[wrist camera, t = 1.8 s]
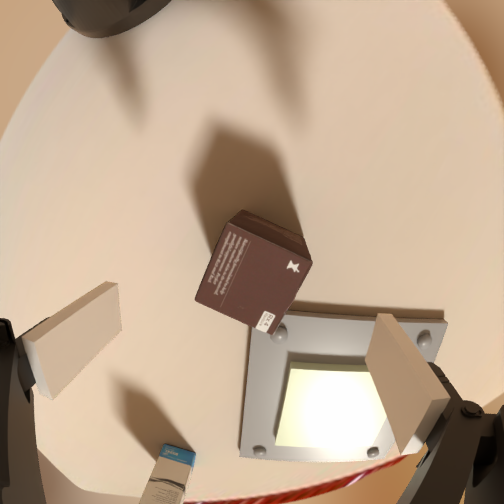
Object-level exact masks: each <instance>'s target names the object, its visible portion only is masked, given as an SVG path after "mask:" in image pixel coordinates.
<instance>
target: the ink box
mask: <svg viewBox="0 0 504 504" xmlns="http://www.w3.org/2000/svg"><path fill="white" fill-rule="evenodd" d="M195 456H196V453H194V452H190V451H187V450H184V449H180V448H177V447H174V446H170V445H167V444H164V445H163V447H162V450H161V452H160V455H159V457H158V459H157V462H156V464H155V467H154V469H153V471H152V473H151V476H150V478H149V481H148V483H147V485H146V488H145V490H144V492H143V495H142V497H141V499H140V502H139V504H183V502H184V499H185V496H186V492H187V489H188V486H189V483H190V480H191V476H192V471H193V466H194V461H195Z"/></svg>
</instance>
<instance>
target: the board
mask: <svg viewBox="0 0 504 504" xmlns="http://www.w3.org/2000/svg"><path fill="white" fill-rule="evenodd" d="M376 318H377V317H370V316H354V315H339V314H326V313H313V312H302V311H291V310H287V312H286V314H285V316H284V317H283V319H282V321H281V323H280V325H279V326H278V328H277V330H276V332H275V333H274V335H270V334H268V333H265V332H263V331H260V330H258V329H256V328H253V327H252V334H251V344H250V355H249V365H248V376H247V386H246V396H245V407H244V417H243V427H242V437H241V447H240V456H239V457H245V458H253V459H264V460H276V461H293V462H347V461H364V460H376V459H384V458H385V457H386V455H387V453H388V452H389V450H390V448H391V447H392V445H393V443H394V442H395V438H394V435H393V432H392V429H391V426H390V424H389V421H388V418H387V416H386V413H385V410H384V408H383V405H382V402H381V400H380V397H379V395H378V392H377V390H376V387H375V384H374V382H373V379H372V377H371V374H370V372H369V370H368V367H367V365H366V362H365V358H366V354H367V351H368V347H369V344H370V340H371V337H372V333H373V329H374V326H375V322H376ZM395 319H396V321H397V322H398V323H399V325H400V326H401V327H402V329H403V330H404V331H405V333H406V334H407V335H408V337H409V338H410V339H411V341H412V342H413V344H414V345H415V346H416V348H417V349H418V351H419V352H420V353H421V355H422V356H423V358H424V359H425V360H426V362H432V363H434V361H435V358H436V356H437V353H438V351H439V348H440V345H441V343H442V340H443V337H444V334H445V331H446V329H447V326H448V323H447V322H446V321H445V320H444V319H415V318H395Z"/></svg>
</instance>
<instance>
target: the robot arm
mask: <svg viewBox="0 0 504 504" xmlns="http://www.w3.org/2000/svg"><path fill="white" fill-rule="evenodd" d="M52 1H53V3H54V4H55V6H56V7H57V8H58V10H59V11H60V12H61V13H62V17H63V19H64V21H65V22H66V24H67V25H68V26H69V27H70V28H72V29H73V30H75V31H77V32H78V33H80V34H82V35H84V36H87V37H91V38H103V37H109V36H113V35H116V34H119V33H122V32H125V31H127V30H129V29H131V28H133V27H135V26H137V25H139V24H141V23H142V22H144V21H146V20H147V19H149V18H150V17H152V16H153V15H155V14H156V13H157V12H159V11H160V10H161V9H162V8H163V7H165V6H166V5H167V4H168V3H169V2H170V1H171V0H52ZM121 330H122V326H121V316H120V306H119V294H118V283H112V282H107V281H106V282H104V283H103V284H101V285H99V286H98V287H96V288H95V289H93V290H91V291H90V292H88V293H87V294H85V295H84V296H82V297H80V298H79V299H77V300H76V301H74V302H73V303H71V304H70V305H68V306H66V307H65V308H63V309H62V310H60V311H59V312H57V313H56V314H54V315H53V316H51V317H48V318H46V319H44V320H43V321H41V322H40V323H39V324H37V325H35V326H34V327H33V328H31V329H29V330H28V331H26V332H25V333H23V334H22V335H20V336H19V337H18V338H16V339H15V337H14V333H13V329H12V325H11V322H10V321H9V320H8V319H5V318H0V504H46V500H45V495H44V490H43V485H42V480H41V474H40V469H39V461H38V454H37V445H36V435H35V421H34V394H33V391H32V388H31V387H32V386H33V385H34V384H35V383H36V385H37V387H38V390H39V393H40V394H41V395H43V396H45V397H47V398H49V399H51V400H54V399H55V398H56V397H57V396H58V395H59V393H60V392H61V391H62V390H63V389H64V388H65V387H66V386H67V385H68V384H69V383H70V382H71V381H72V380H73V379H74V378H75V377H76V376H77V375H78V374H79V373H80V372H81V371H82V370H83V369H84V368H85V367H86V366H87V365H88V364H89V362H90V361H91V360H92V359H93V358H94V357H95V356H96V355H97V354H98V353H99V352H100V351H101V350H102V349H103V348H104V347H105V346H106V345H107V344H108V343H109V342H110V341H111V340H112V339H113V338H114V337H115V336H116V335H117V334H118V333H119V332H120V331H121ZM365 362H366V365H367V367H368V370H369V372H370V374H371V377H372V379H373V382H374V384H375V387H376V390H377V392H378V395H379V397H380V400H381V402H382V405H383V408H384V410H385V413H386V416H387V418H388V421H389V424H390V426H391V429H392V432H393V435H394V438H395V440H396V443H397V446H398V449H399V452H400V455H406V454H413V453H418V452H419V451H420V449H421V448H422V446H423V445H424V443H425V442H426V444H427V447H428V451H427V452H426V454H425V455H424V456H423V458H422V459H421V461H420V462H419V464H418V465H417V466H416V467H417V470H416V472H415V474H414V476H413V477H412V479H411V481H410V482H409V484H408V486H407V487H406V489H405V491H404V492H403V494H402V496H401V497H400V499H399V500H398V502H397V503H396V504H459V503H460V500H461V498H462V495H463V492H464V490H465V500H464V504H504V405H502V407H501V408H500V410H499V412H498V413H497V414H485V413H484V411H483V409H482V408H481V407H480V406H479V405H478V404H476V403H474V402H472V401H467V400H465V401H463V400H462V398H461V397H460V395H459V394H458V393H457V391H456V390H455V388H454V387H453V385H452V384H451V383H449V380H448V378H447V377H445V374H444V373H443V371H442V370H441V369H440V368H439V367H438V366H437V365H435V364H434V363H432V362H426V360H425V359H424V358H423V356H422V355H421V353H420V352H419V351H418V349H417V348H416V346H415V345H414V344H413V342H412V341H411V339H410V338H409V337H408V335H407V334H406V333H405V331H404V330H403V329H402V327H401V326H400V325H399V323H398V322H397V321H396V319H395V318H394V317H393V315H392V314H384V313H378V314H377V318H376V322H375V326H374V329H373V333H372V337H371V340H370V344H369V347H368V351H367V354H366V358H365ZM465 487H466V489H465Z"/></svg>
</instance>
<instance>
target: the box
mask: <svg viewBox="0 0 504 504" xmlns="http://www.w3.org/2000/svg"><path fill="white" fill-rule="evenodd" d="M312 264H313V261H312V260H311V256H310V254H309V251H308V248H307V245H306V242H305V239H304V238H303V237H301V236H299V235H297V234H295V233H293V232H291V231H289V230H286V229H284V228H282V227H280V226H278V225H276V224H273V223H271V222H269V221H267V220H265V219H263V218H260V217H258V216H256V215H254V214H252V213H249V212H247V211H245V210H241V211H240V212H239V213H238V214H237V215H236V216H235V217H234V218H232V219H231V220H230V222H228V223H226V225H225V227H224V229H223V232H222V234H221V236H220V238H219V240H218V243H217V245H216V247H215V250H214V252H213V254H212V257H211V259H210V262H209V264H208V266H207V269H206V271H205V274H204V276H203V279H202V281H201V284H200V286H199V289H198V291H197V294H196V297H195V301H196V302H199V303H200V304H203V305H205V306H207V307H209V308H211V309H213V310H216V311H218V312H220V313H222V314H224V315H227V316H229V317H231V318H233V319H236V320H238V321H240V322H242V323H245V324H247V325H249V326H251V327H253V328H256V329H258V330H260V331H263V332H265V333H268V334H270V335H274V333H275V332H276V330H277V328H278V326H279V325H280V323H281V321H282V319H283V317H284V316H285V314H286V312H287V310H288V308H289V307H290V306H291V304H292V303H293V301H294V299H295V297H296V294H297V292H298V290H299V288H300V287H301V285H302V283H303V281H304V279H305V277H306V276H307V274H308V272H309V270H310V268H311V266H312Z"/></svg>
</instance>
